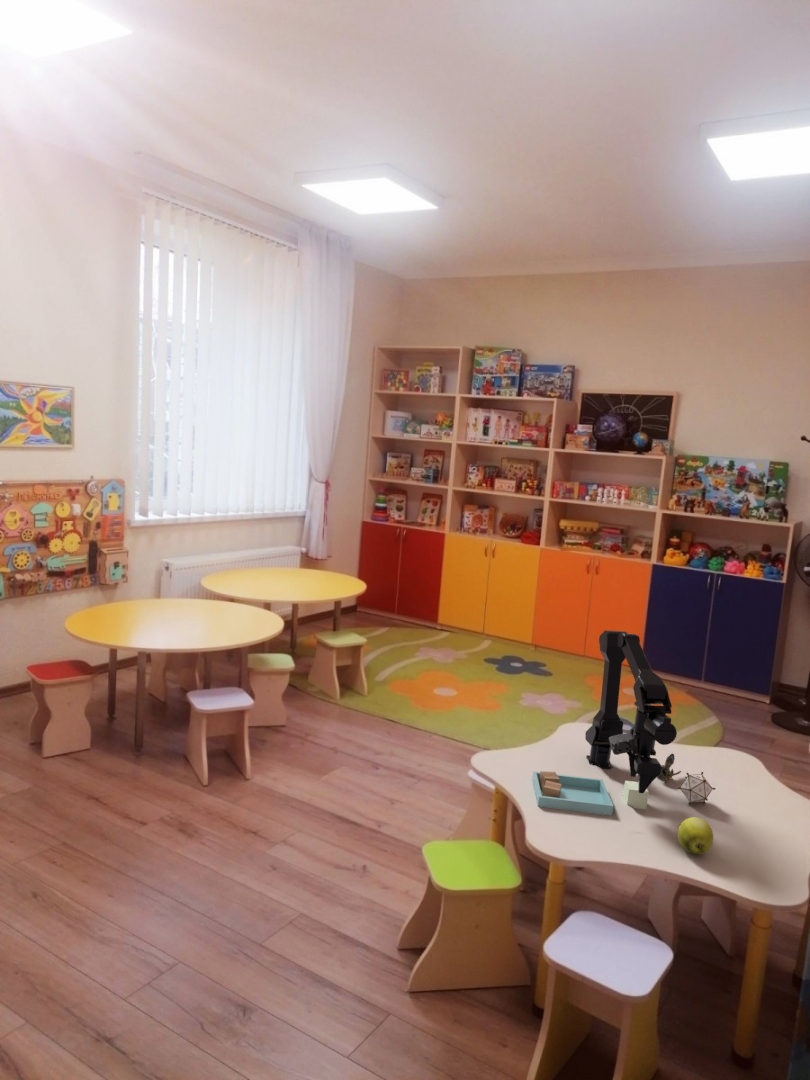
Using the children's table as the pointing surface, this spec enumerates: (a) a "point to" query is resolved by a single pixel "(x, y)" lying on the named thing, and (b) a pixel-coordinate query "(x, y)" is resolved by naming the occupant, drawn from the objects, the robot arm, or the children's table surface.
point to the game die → (696, 788)
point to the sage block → (635, 795)
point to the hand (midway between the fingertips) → (636, 784)
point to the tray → (576, 795)
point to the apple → (695, 835)
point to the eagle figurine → (668, 768)
